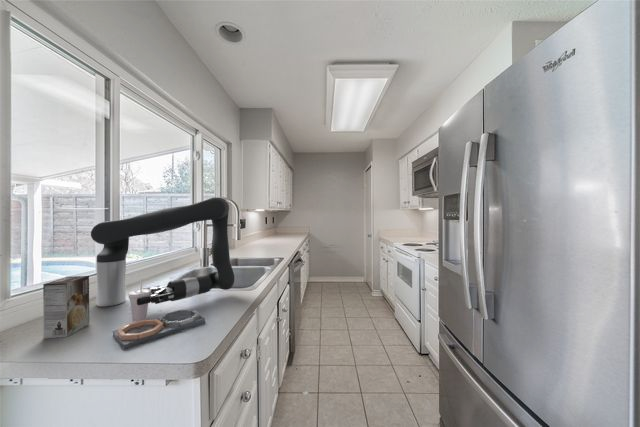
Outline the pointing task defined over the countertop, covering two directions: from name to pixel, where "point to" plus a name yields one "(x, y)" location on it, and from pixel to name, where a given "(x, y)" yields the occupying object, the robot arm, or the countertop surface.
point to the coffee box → (65, 306)
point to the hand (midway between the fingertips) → (133, 299)
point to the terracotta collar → (143, 334)
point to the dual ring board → (160, 334)
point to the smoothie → (138, 310)
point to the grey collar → (182, 322)
